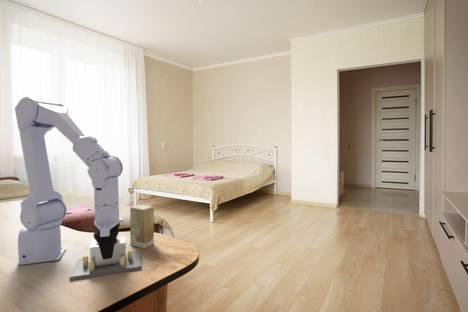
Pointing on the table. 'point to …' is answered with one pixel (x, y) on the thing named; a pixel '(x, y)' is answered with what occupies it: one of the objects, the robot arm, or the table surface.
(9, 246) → the table surface
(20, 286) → the table surface
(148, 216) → the skincare box
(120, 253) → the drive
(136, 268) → the grey peg board
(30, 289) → the table surface
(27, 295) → the table surface
